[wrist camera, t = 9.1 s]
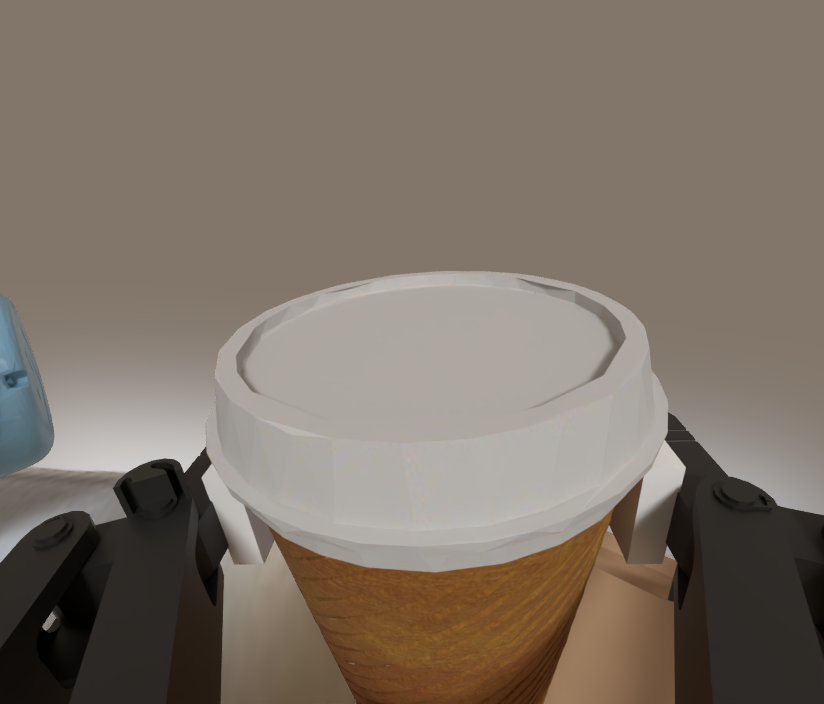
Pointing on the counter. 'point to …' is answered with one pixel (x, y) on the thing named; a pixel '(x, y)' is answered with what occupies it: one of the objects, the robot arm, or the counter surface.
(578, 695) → the crate
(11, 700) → the robot arm
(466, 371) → the disposable coffee cup
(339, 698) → the counter surface
